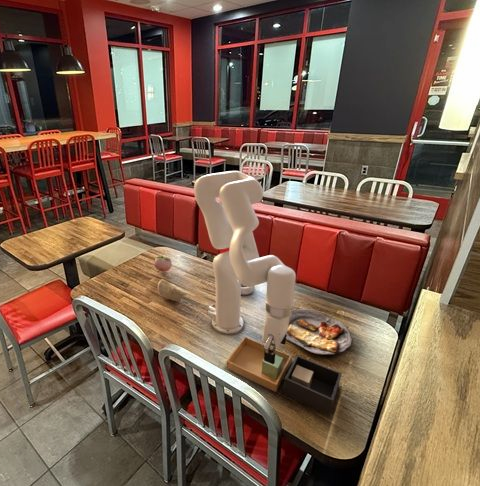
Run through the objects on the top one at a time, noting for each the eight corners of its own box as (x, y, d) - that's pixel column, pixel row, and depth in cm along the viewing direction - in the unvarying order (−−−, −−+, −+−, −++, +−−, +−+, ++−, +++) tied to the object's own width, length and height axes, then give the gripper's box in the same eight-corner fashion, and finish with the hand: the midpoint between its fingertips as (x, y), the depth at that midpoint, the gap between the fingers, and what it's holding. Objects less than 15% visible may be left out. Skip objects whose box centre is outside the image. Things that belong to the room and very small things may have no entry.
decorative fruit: (174, 268, 166) (173, 252, 162) (169, 276, 159) (168, 259, 155) (158, 266, 169) (157, 250, 165) (152, 274, 162) (151, 257, 158)
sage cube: (261, 372, 101) (262, 361, 99) (267, 362, 105) (268, 351, 103) (276, 379, 98) (277, 368, 96) (281, 369, 102) (283, 357, 100)
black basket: (282, 393, 94) (284, 378, 91) (294, 369, 102) (296, 354, 100) (329, 416, 87) (333, 400, 84) (338, 388, 95) (341, 373, 92)
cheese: (157, 293, 149) (149, 290, 135) (164, 279, 150) (157, 275, 136) (185, 308, 145) (179, 307, 131) (192, 294, 146) (187, 291, 132)
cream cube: (289, 387, 96) (291, 375, 94) (295, 376, 99) (296, 364, 97) (306, 394, 93) (308, 383, 91) (311, 383, 97) (313, 371, 94)
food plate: (360, 333, 116) (362, 326, 114) (335, 370, 101) (337, 362, 100) (297, 306, 132) (297, 299, 131) (267, 334, 118) (268, 327, 116)
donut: (232, 295, 142) (254, 296, 140) (232, 289, 140) (254, 290, 138) (233, 283, 151) (254, 284, 149) (233, 277, 149) (254, 278, 147)
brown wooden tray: (226, 368, 104) (226, 361, 102) (244, 343, 114) (244, 336, 112) (275, 392, 95) (276, 385, 93) (290, 363, 105) (291, 355, 103)
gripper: (277, 289, 99) (273, 332, 106) (254, 318, 86) (252, 364, 93) (301, 296, 95) (295, 340, 102) (281, 327, 82) (276, 375, 89)
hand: (275, 352), depth 97 cm, fingers open, 9 cm apart
